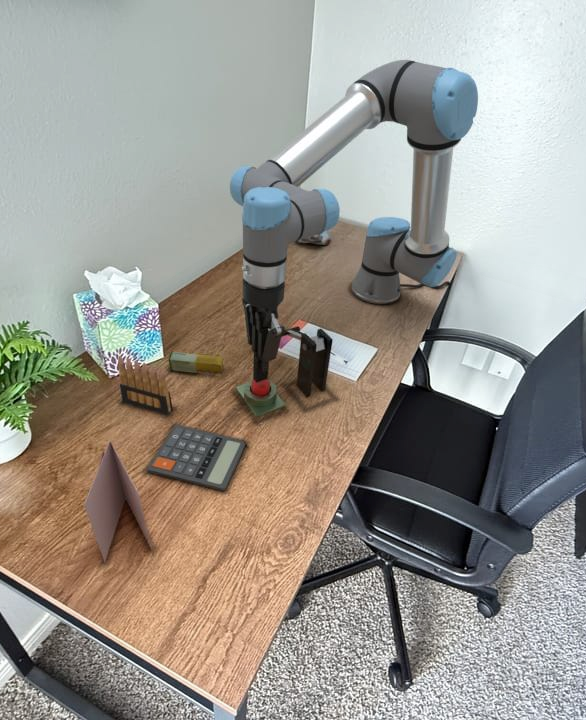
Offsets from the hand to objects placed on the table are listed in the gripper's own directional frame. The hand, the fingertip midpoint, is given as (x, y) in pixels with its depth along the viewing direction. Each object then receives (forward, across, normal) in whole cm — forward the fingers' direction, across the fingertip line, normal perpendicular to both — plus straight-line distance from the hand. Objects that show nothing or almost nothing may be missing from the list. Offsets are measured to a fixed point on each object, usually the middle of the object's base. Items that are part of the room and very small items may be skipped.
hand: (260, 378), depth 97 cm
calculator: (+7, +8, -17) cm, 20 cm away
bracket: (+7, +2, +12) cm, 14 cm away
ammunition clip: (+7, -10, -21) cm, 25 cm away
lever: (-4, -2, +12) cm, 13 cm away
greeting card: (+7, +17, -32) cm, 37 cm away
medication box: (+7, -16, -8) cm, 19 cm away
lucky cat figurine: (+7, -66, +56) cm, 86 cm away
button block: (+7, 0, 0) cm, 7 cm away
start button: (+3, 0, 0) cm, 3 cm away
